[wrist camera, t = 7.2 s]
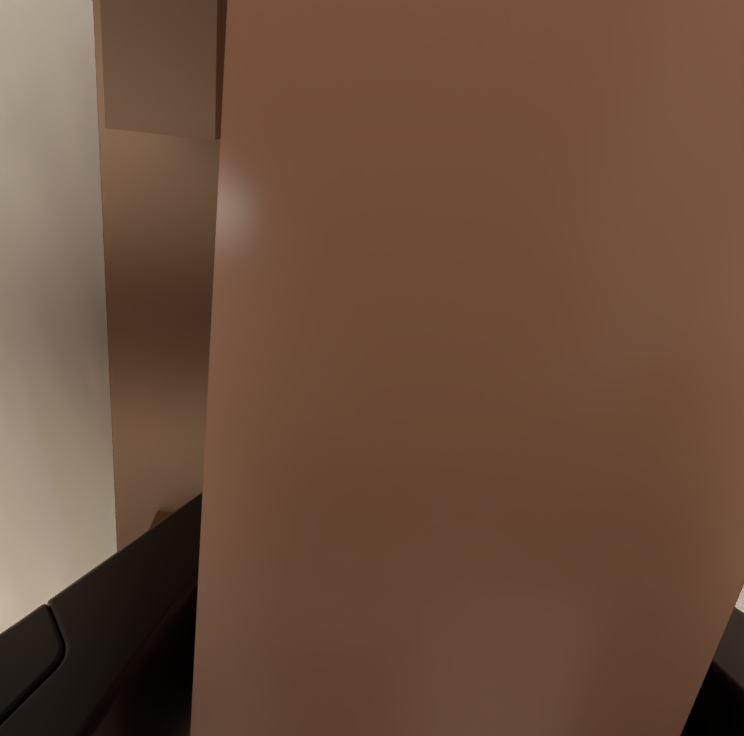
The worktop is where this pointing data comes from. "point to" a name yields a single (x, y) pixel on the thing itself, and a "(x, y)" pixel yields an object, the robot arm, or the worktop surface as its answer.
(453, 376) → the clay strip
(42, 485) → the worktop surface
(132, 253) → the drying rack
